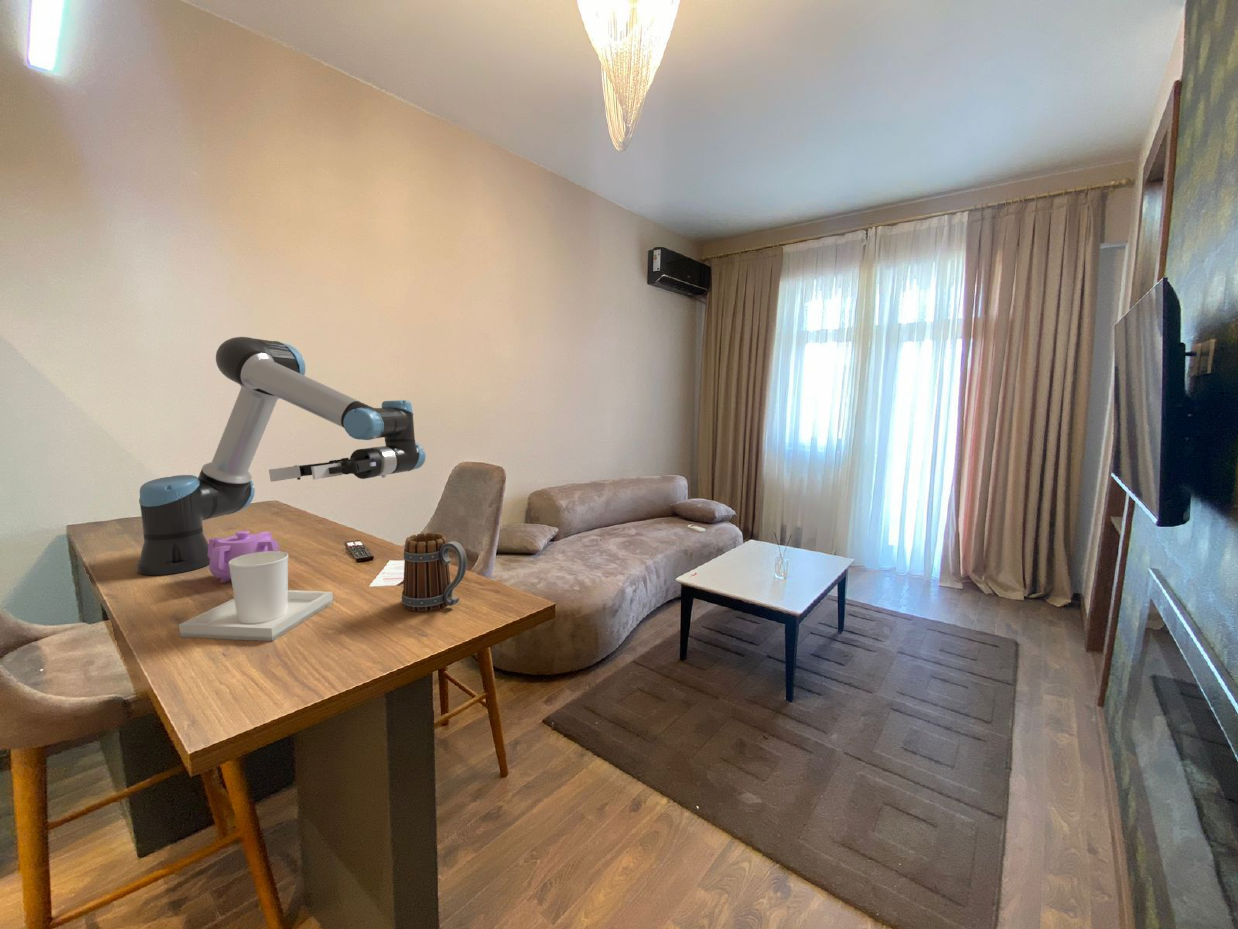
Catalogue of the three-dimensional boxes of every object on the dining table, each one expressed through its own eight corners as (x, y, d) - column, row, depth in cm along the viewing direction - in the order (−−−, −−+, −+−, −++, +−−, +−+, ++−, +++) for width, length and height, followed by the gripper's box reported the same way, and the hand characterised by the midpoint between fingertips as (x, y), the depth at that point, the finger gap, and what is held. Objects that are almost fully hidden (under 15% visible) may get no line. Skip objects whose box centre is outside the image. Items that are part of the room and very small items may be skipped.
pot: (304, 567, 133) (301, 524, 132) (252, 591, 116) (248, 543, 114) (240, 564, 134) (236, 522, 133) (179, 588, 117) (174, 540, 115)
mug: (391, 608, 108) (388, 540, 106) (426, 591, 118) (424, 529, 116) (448, 621, 102) (446, 549, 100) (481, 602, 112) (479, 537, 110)
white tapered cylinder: (246, 630, 95) (241, 569, 93) (224, 617, 100) (219, 559, 99) (301, 612, 103) (297, 556, 102) (278, 601, 108) (274, 548, 107)
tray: (180, 637, 93) (179, 624, 93) (255, 599, 111) (254, 588, 111) (272, 641, 92) (271, 628, 92) (333, 602, 110) (332, 591, 110)
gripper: (411, 475, 123) (334, 489, 104) (339, 478, 133) (256, 492, 113) (407, 444, 122) (329, 453, 103) (335, 450, 132) (251, 460, 112)
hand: (291, 474), depth 108 cm, fingers open, 13 cm apart
